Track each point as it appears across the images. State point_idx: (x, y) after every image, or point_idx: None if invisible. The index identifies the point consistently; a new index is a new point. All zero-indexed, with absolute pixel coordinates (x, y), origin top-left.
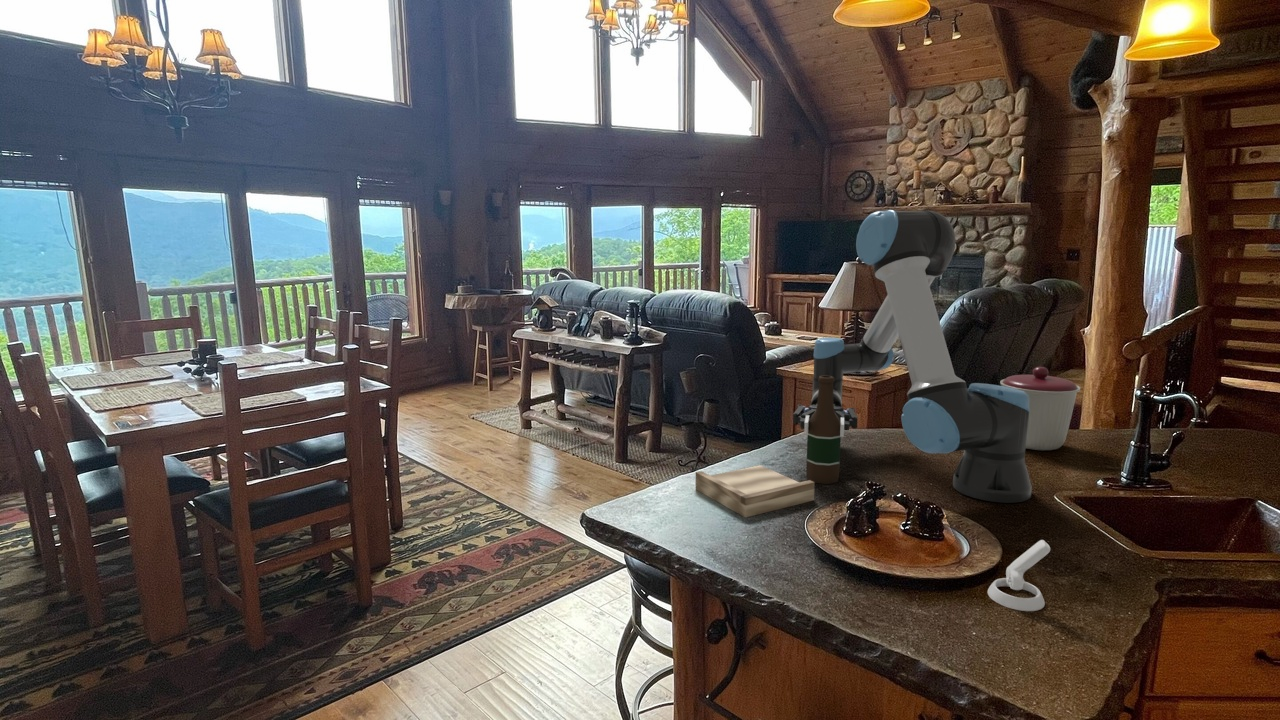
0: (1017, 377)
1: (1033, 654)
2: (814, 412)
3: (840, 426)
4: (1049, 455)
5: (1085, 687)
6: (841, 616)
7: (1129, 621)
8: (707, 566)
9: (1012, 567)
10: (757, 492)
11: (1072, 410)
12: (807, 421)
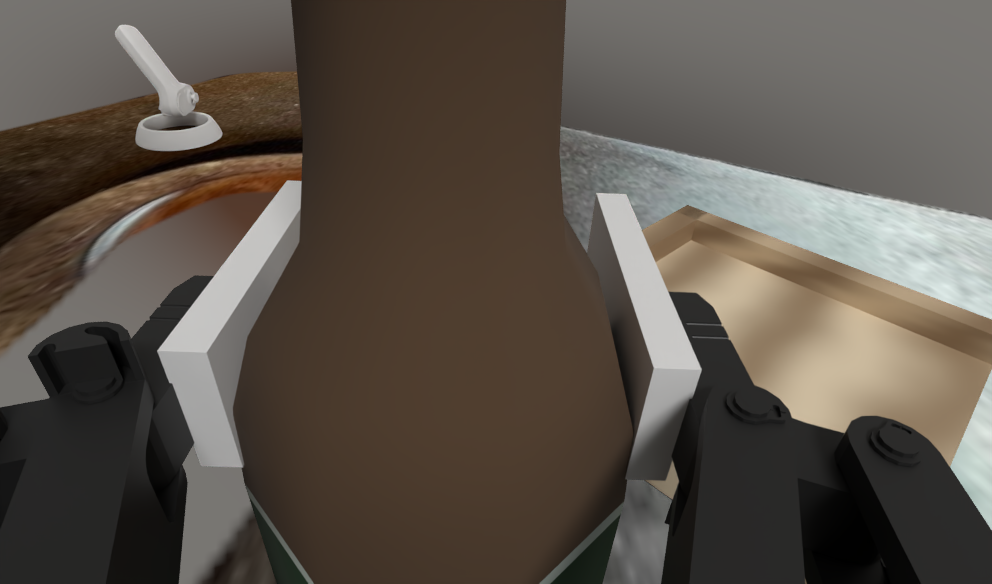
0: None
1: (249, 94)
2: (582, 278)
3: None
4: None
5: (232, 80)
6: None
7: (56, 121)
8: (653, 148)
9: (177, 83)
10: (674, 231)
11: None
12: (609, 213)
